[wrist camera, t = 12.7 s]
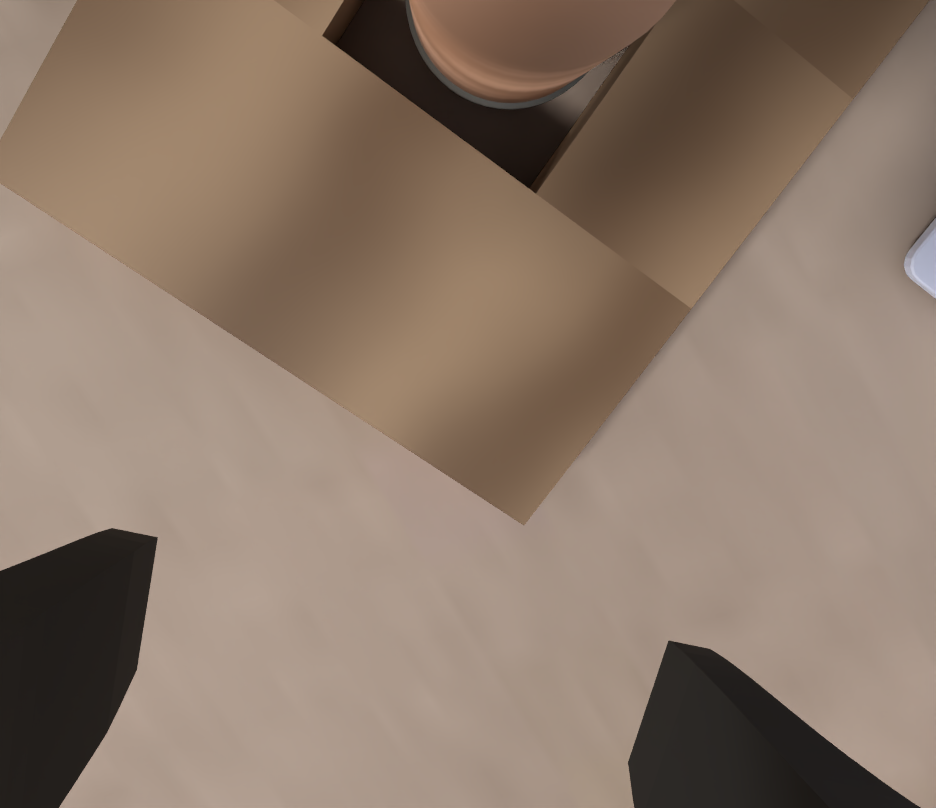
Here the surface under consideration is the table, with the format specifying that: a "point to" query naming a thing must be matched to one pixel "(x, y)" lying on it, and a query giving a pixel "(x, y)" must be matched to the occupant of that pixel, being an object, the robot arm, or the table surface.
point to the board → (433, 204)
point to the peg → (523, 43)
